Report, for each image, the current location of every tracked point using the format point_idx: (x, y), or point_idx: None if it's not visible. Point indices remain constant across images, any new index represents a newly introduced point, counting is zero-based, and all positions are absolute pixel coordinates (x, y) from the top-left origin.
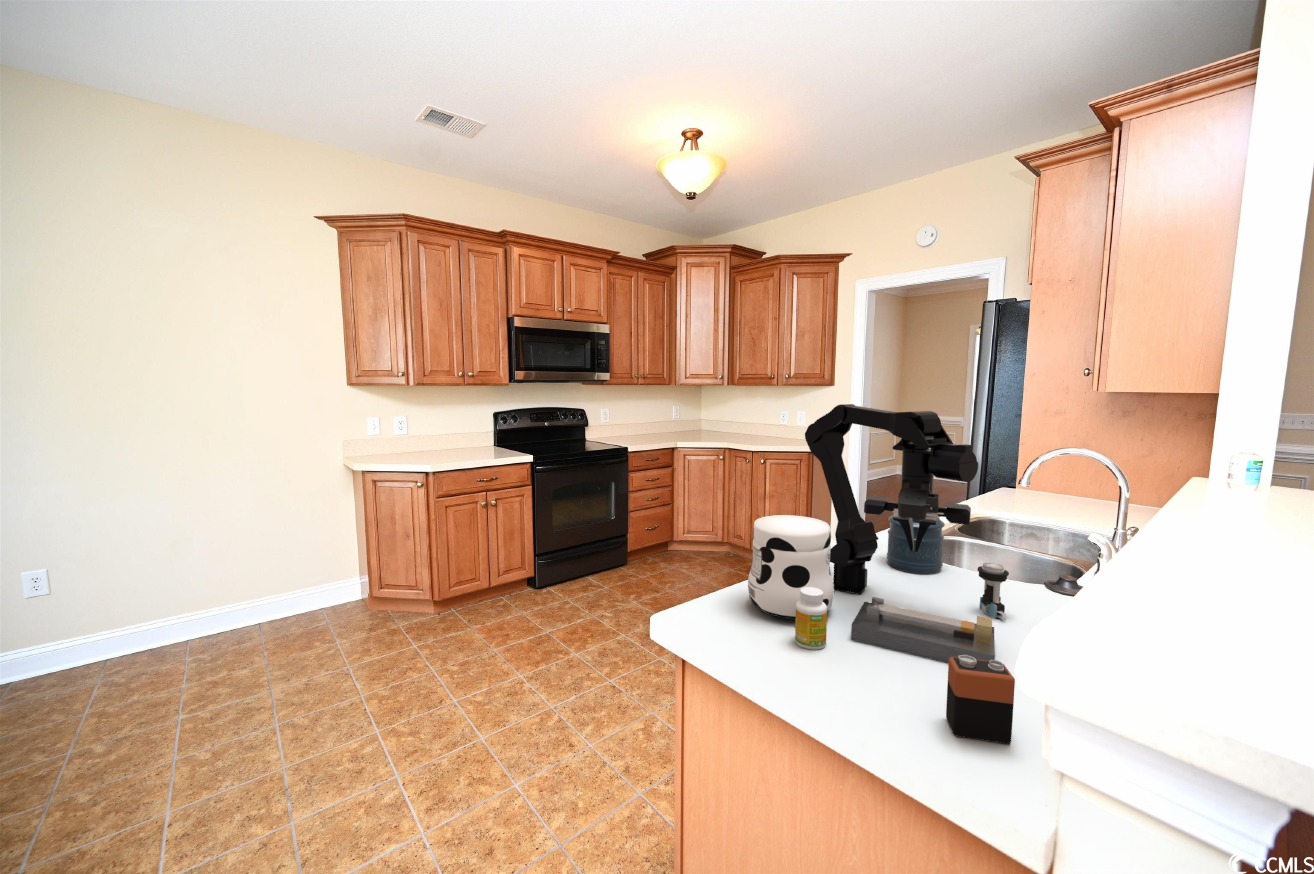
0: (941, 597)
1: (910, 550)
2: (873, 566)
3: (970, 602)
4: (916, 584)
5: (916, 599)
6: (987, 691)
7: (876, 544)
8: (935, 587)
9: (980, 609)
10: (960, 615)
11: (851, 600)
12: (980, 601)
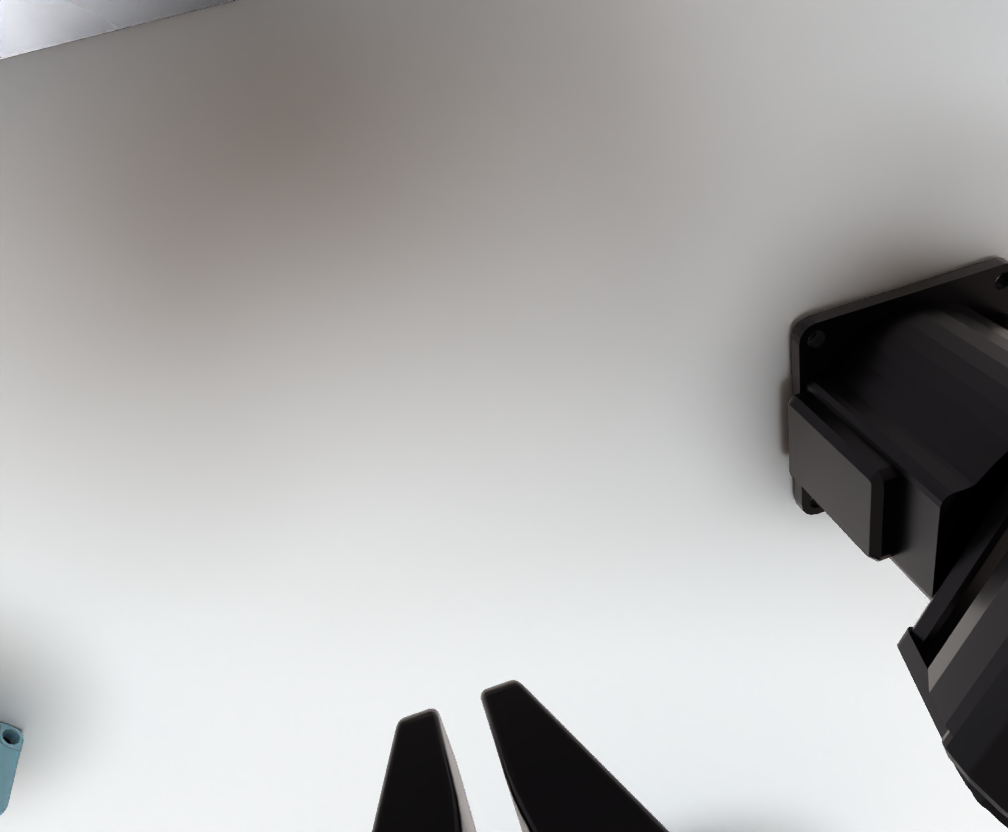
0: (315, 706)
1: (520, 683)
2: (823, 793)
3: (131, 773)
4: None
5: (430, 557)
6: None
7: (983, 768)
8: None
9: (12, 726)
10: (46, 534)
11: (825, 165)
12: (5, 780)
